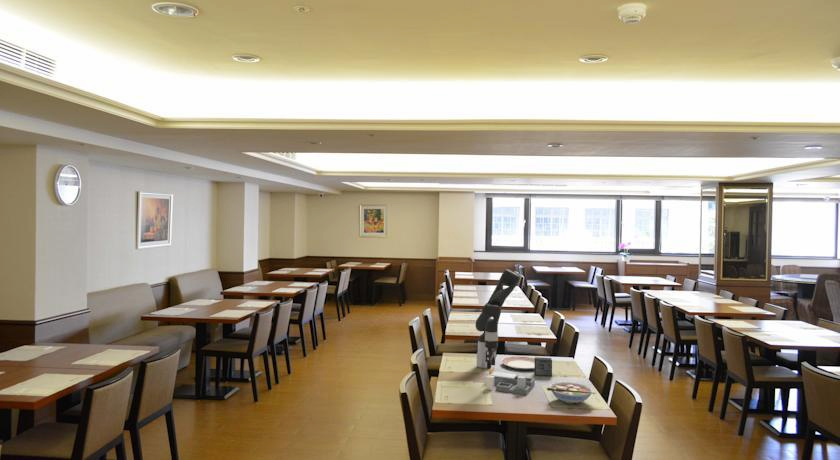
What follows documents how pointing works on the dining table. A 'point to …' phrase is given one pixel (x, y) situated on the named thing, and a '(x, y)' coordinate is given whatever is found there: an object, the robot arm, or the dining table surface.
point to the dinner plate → (520, 362)
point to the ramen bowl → (570, 391)
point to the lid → (501, 374)
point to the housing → (515, 385)
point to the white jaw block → (490, 382)
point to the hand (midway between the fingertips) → (491, 366)
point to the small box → (543, 366)
